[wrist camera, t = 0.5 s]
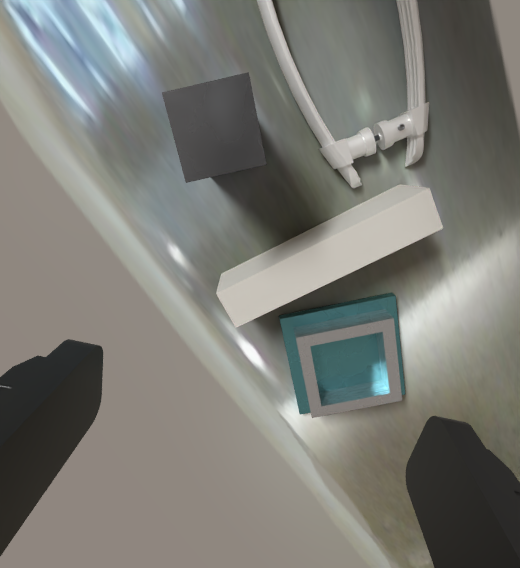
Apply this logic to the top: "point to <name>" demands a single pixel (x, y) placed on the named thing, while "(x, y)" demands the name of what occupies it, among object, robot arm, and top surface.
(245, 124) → the block
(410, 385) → the top surface
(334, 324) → the keeper
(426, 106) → the door handle
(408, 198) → the door edge
